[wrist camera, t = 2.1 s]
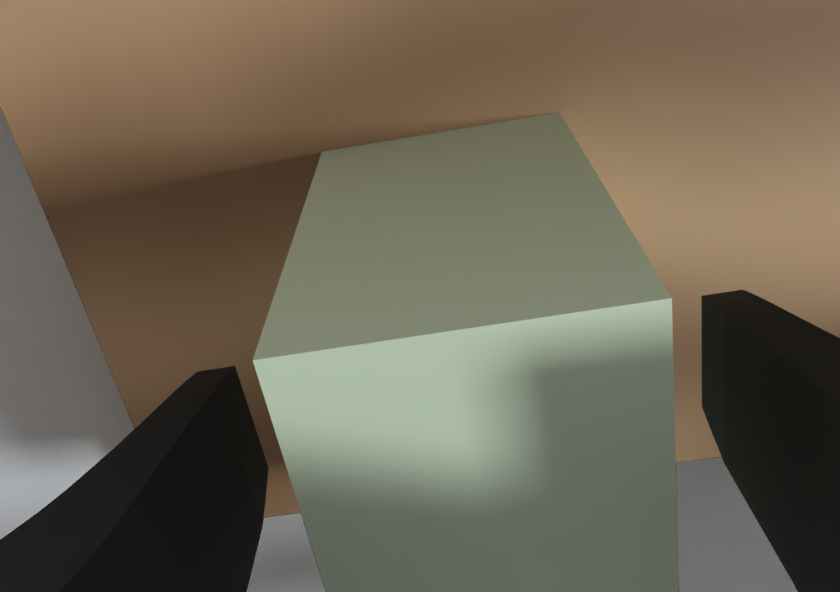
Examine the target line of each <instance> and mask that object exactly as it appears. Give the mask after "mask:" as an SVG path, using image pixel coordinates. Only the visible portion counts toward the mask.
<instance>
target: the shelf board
mask: <svg viewBox="0 0 840 592" xmlns="http://www.w3.org/2000/svg"><path fill="white" fill-rule="evenodd" d="M0 107H1V109H2V112H3V114H4V117H5V119H6V121H7V124H8V126H9V129H10V131H11V133H12V136H13V138H14V141H15V143H16V145H17V148H18V150H19V153H20V155H21V157H22V160H23V162H24V165H25V167H26V169H27V172H28V174H29V177H30V179H31V181H32V184H33V186H34V189H35V191H36V193H37V196H38V198H39V201H40V203H41V205H42V208H43V210H44V212H45V215H46V217H47V220H48V222H49V224H50V227H51V229H52V232H53V234H54V236H55V239H56V241H57V244H58V246H59V248H60V251H61V253H62V256H63V258H64V260H65V263H66V265H67V268H68V270H69V272H70V275H71V277H72V280H73V282H74V284H75V287H76V289H77V292H78V294H79V296H80V299H81V301H82V304H83V306H84V308H85V311H86V313H87V315H88V318H89V320H90V323H91V325H92V327H93V330H94V332H95V335H96V337H97V339H98V342H99V344H100V347H101V349H102V351H103V354H104V356H105V359H106V361H107V363H108V366H109V368H110V371H111V373H112V375H113V378H114V380H115V383H116V385H117V387H118V390H119V392H120V395H121V397H122V399H123V402H124V404H125V407H126V409H127V411H128V414H129V416H130V419H131V421H132V423H133V426H134V428H136V427H137V426H138V425H140V424H141V423H142V422H143V421H144V420H145V419H146V418H147V417H148V416H149V415H150V414H151V413H152V412H153V411H154V410H155V409H156V408H157V407H158V406H159V405H161V404H162V403H163V402H164V401H165V400H166V399H167V398H168V397H169V396H170V395H171V394H172V393H173V392H174V391H175V390H176V389H177V388H179V387H180V386H181V385H182V384H183V383H184V382H185V381H186V380H188V379H189V378H190V377H191V376H192V375H194V374H195V373H196V372H198V371H204V370H211V369H218V368H224V367H231V366H235V367H236V370H237V373H238V377H239V380H240V383H241V386H242V389H243V392H244V395H245V398H246V401H247V404H248V407H249V410H250V413H251V416H252V419H253V422H254V425H255V428H256V431H257V434H258V437H259V440H260V443H261V446H262V449H263V452H264V455H265V458H266V461H267V464H268V467H269V468H268V479H267V491H266V501H265V510H264V518H265V517H273V516H280V515H288V514H295V513H301V512H300V509H299V506H298V503H297V500H296V496H295V493H294V490H293V487H292V484H291V481H290V477H289V474H288V471H287V468H286V465H285V462H284V458H283V455H282V452H281V449H280V446H279V443H278V439H277V436H276V433H275V430H274V427H273V424H272V420H271V417H270V414H269V411H268V408H267V405H266V401H265V398H264V395H263V392H262V389H261V386H260V382H259V379H258V376H257V373H256V370H255V367H254V363H253V357H254V354H255V351H256V348H257V345H258V342H259V339H260V336H261V333H262V330H263V327H264V324H265V321H266V318H267V315H268V312H269V309H270V306H271V303H272V300H273V297H274V294H275V291H276V288H277V285H278V282H279V279H280V276H281V273H282V270H283V267H284V264H285V261H286V258H287V255H288V252H289V249H290V246H291V243H292V240H293V237H294V234H295V231H296V228H297V225H298V222H299V219H300V216H301V213H302V210H303V207H304V204H305V201H306V198H307V195H308V192H309V189H310V186H311V183H312V180H313V177H314V174H315V171H316V168H317V165H318V162H319V159H320V156H321V153H322V152H324V151H330V150H336V149H342V148H348V147H354V146H360V145H366V144H372V143H378V142H384V141H390V140H396V139H402V138H408V137H414V136H420V135H426V134H432V133H438V132H444V131H450V130H456V129H462V128H468V127H474V126H480V125H486V124H492V123H498V122H504V121H510V120H516V119H522V118H528V117H534V116H540V115H546V114H552V113H558V112H560V114H561V116H562V117H563V119H564V121H565V122H566V124H567V126H568V127H569V129H570V131H571V132H572V134H573V136H574V137H575V139H576V141H577V142H578V144H579V145H580V147H581V149H582V150H583V152H584V154H585V155H586V157H587V159H588V160H589V162H590V164H591V165H592V167H593V169H594V170H595V172H596V174H597V175H598V177H599V179H600V180H601V182H602V183H603V185H604V187H605V188H606V190H607V192H608V193H609V195H610V197H611V198H612V200H613V202H614V203H615V205H616V207H617V208H618V210H619V212H620V213H621V215H622V217H623V218H624V220H625V221H626V223H627V225H628V226H629V228H630V230H631V231H632V233H633V235H634V236H635V238H636V240H637V241H638V243H639V245H640V246H641V248H642V250H643V251H644V253H645V255H646V256H647V258H648V260H649V261H650V263H651V264H652V266H653V268H654V269H655V271H656V273H657V274H658V276H659V278H660V279H661V281H662V283H663V284H664V286H665V288H666V289H667V291H668V293H669V294H670V296H671V298H672V323H673V366H674V408H675V451H676V463H678V462H685V461H693V460H700V459H708V458H715V457H722V456H721V454H720V451H719V449H718V446H717V444H716V442H715V439H714V437H713V434H712V432H711V429H710V426H709V424H708V421H707V419H706V416H705V413H704V411H703V408H702V301H701V296H703V295H710V294H717V293H723V292H730V291H737V290H745V291H748V292H750V293H752V294H754V295H756V296H759V297H761V298H763V299H765V300H767V301H769V302H771V303H773V304H775V305H776V306H778V307H780V308H782V309H784V310H786V311H788V312H790V313H792V314H794V315H796V316H798V317H800V318H801V319H803V320H805V321H807V322H809V323H811V324H813V325H815V326H817V327H819V328H821V329H823V330H825V331H827V332H829V333H831V334H833V335H835V336H837V337H839V338H840V0H0Z"/></svg>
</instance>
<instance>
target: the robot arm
mask: <svg viewBox="0 0 840 592" xmlns="http://www.w3.org/2000/svg"><path fill="white" fill-rule="evenodd" d="M701 301H702V408H703V411H704V413H705V416H706V419H707V421H708V424H709V426H710V429H711V432H712V434H713V437H714V439H715V442H716V444H717V446H718V449H719V451H720V454H721V456H722V458H723V461H724V463H725V465H726V466H727V468H728V470H729V472H730V474H731V475H732V477H733V479H734V481H735V482H736V484H737V486H738V488H739V490H740V491H741V493H742V495H743V497H744V498H745V500H746V502H747V504H748V505H749V507H750V509H751V511H752V512H753V514H754V516H755V517H756V519H757V521H758V523H759V524H760V526H761V528H762V529H763V531H764V533H765V535H766V536H767V538H768V540H769V542H770V543H771V545H772V547H773V548H774V550H775V552H776V554H777V555H778V557H779V559H780V561H781V562H782V564H783V566H784V567H785V569H786V571H787V573H788V574H789V576H790V578H791V580H792V581H793V583H794V585H795V587H796V589H797V591H798V592H840V338H839V337H837V336H835V335H833V334H831V333H829V332H827V331H825V330H823V329H821V328H819V327H817V326H815V325H813V324H811V323H809V322H807V321H805V320H803V319H801V318H800V317H798V316H796V315H794V314H792V313H790V312H788V311H786V310H784V309H782V308H780V307H778V306H776V305H775V304H773V303H771V302H769V301H767V300H765V299H763V298H761V297H759V296H756V295H754V294H752V293H750V292H748V291H745V290H737V291H730V292H723V293H717V294H710V295H703V296H701ZM268 468H269V467H268V464H267V461H266V458H265V455H264V452H263V449H262V446H261V443H260V440H259V437H258V434H257V431H256V428H255V425H254V422H253V419H252V416H251V413H250V410H249V407H248V404H247V401H246V398H245V395H244V392H243V389H242V386H241V383H240V380H239V377H238V373H237V370H236V367H235V366H231V367H224V368H218V369H211V370H204V371H198V372H196V373H195V374H194V375H192V376H191V377H190V378H189V379H188V380H186V381H185V382H184V383H183V384H182V385H181V386H180V387H179V388H177V389H176V390H175V391H174V392H173V393H172V394H171V395H170V396H169V397H168V398H167V399H166V400H165V401H164V402H163V403H162V404H161V405H159V406H158V407H157V408H156V409H155V410H154V411H153V412H152V413H151V414H150V415H149V416H148V417H147V418H146V419H145V420H144V421H143V422H142V423H141V424H140V425H138V426H137V427H136V428H135V429H134V430H133V431H132V432H131V433H130V434H129V435H128V436H127V437H126V438H125V439H124V440H123V441H122V442H120V443H119V444H118V445H117V446H116V447H115V448H114V449H113V450H112V451H111V452H110V453H108V454H107V455H106V456H105V457H104V458H103V459H101V460H100V461H99V462H98V463H97V464H96V465H95V466H93V467H92V468H91V469H90V470H89V471H88V472H87V473H85V474H84V475H83V476H82V477H81V478H80V479H78V480H77V481H76V482H75V483H74V484H73V485H72V486H70V487H69V488H68V489H67V490H66V491H65V492H63V493H62V494H61V495H60V496H58V497H57V498H56V499H55V500H53V501H52V502H51V503H50V504H48V505H47V506H46V507H44V508H43V509H42V510H41V511H39V512H38V513H37V514H35V515H34V516H33V517H31V518H30V519H28V520H27V521H26V522H24V523H23V524H22V525H20V526H19V527H17V528H16V529H15V530H13V531H12V532H11V533H9V534H8V535H7V536H5V537H4V538H2V539H1V540H0V592H246V591H247V587H248V583H249V579H250V575H251V571H252V567H253V563H254V559H255V555H256V551H257V547H258V542H259V538H260V534H261V530H262V525H263V518H264V510H265V501H266V491H267V479H268Z"/></svg>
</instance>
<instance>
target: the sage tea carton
mask: <svg viewBox="0 0 840 592" xmlns="http://www.w3.org/2000/svg"><path fill="white" fill-rule="evenodd" d="M253 363H254V367H255V370H256V373H257V376H258V379H259V382H260V386H261V389H262V392H263V395H264V398H265V401H266V405H267V408H268V411H269V414H270V417H271V420H272V424H273V427H274V430H275V433H276V436H277V439H278V443H279V446H280V449H281V452H282V455H283V458H284V462H285V465H286V468H287V471H288V474H289V477H290V481H291V484H292V487H293V490H294V493H295V496H296V500H297V503H298V506H299V509H300V512H301V515H302V519H303V522H304V525H305V528H306V531H307V534H308V538H309V541H310V544H311V547H312V550H313V553H314V557H315V560H316V563H317V566H318V569H319V572H320V576H321V579H322V582H323V585H324V588H325V591H326V592H679V578H678V536H677V493H676V451H675V408H674V366H673V323H672V298H671V296H670V294H669V293H668V291H667V289H666V288H665V286H664V284H663V283H662V281H661V279H660V278H659V276H658V274H657V273H656V271H655V269H654V268H653V266H652V264H651V263H650V261H649V260H648V258H647V256H646V255H645V253H644V251H643V250H642V248H641V246H640V245H639V243H638V241H637V240H636V238H635V236H634V235H633V233H632V231H631V230H630V228H629V226H628V225H627V223H626V221H625V220H624V218H623V217H622V215H621V213H620V212H619V210H618V208H617V207H616V205H615V203H614V202H613V200H612V198H611V197H610V195H609V193H608V192H607V190H606V188H605V187H604V185H603V183H602V182H601V180H600V179H599V177H598V175H597V174H596V172H595V170H594V169H593V167H592V165H591V164H590V162H589V160H588V159H587V157H586V155H585V154H584V152H583V150H582V149H581V147H580V145H579V144H578V142H577V141H576V139H575V137H574V136H573V134H572V132H571V131H570V129H569V127H568V126H567V124H566V122H565V121H564V119H563V117H562V116H561V114H560V112H558V113H552V114H546V115H540V116H534V117H528V118H522V119H516V120H510V121H504V122H498V123H492V124H486V125H480V126H474V127H468V128H462V129H456V130H450V131H444V132H438V133H432V134H426V135H420V136H414V137H408V138H402V139H396V140H390V141H384V142H378V143H372V144H366V145H360V146H354V147H348V148H342V149H336V150H330V151H324V152H322V153H321V156H320V159H319V162H318V165H317V168H316V171H315V174H314V177H313V180H312V183H311V186H310V189H309V192H308V195H307V198H306V201H305V204H304V207H303V210H302V213H301V216H300V219H299V222H298V225H297V228H296V231H295V234H294V237H293V240H292V243H291V246H290V249H289V252H288V255H287V258H286V261H285V264H284V267H283V270H282V273H281V276H280V279H279V282H278V285H277V288H276V291H275V294H274V297H273V300H272V303H271V306H270V309H269V312H268V315H267V318H266V321H265V324H264V327H263V330H262V333H261V336H260V339H259V342H258V345H257V348H256V351H255V354H254V357H253Z"/></svg>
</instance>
